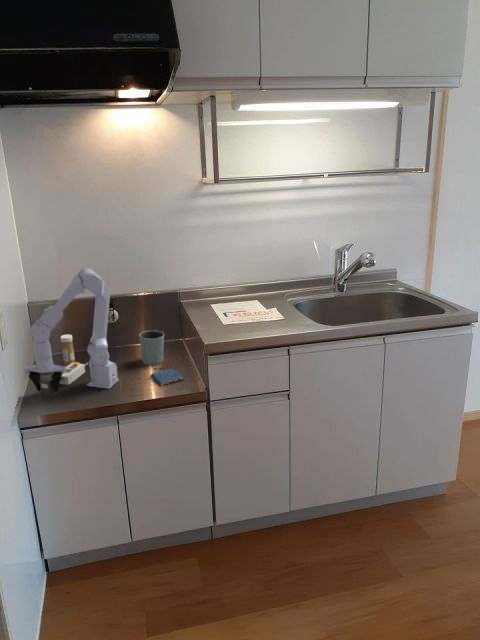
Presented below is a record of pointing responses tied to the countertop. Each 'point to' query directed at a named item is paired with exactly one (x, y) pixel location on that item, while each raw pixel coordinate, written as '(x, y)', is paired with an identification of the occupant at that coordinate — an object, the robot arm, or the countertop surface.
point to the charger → (47, 386)
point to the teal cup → (152, 346)
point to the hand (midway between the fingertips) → (48, 390)
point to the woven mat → (166, 376)
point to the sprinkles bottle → (67, 349)
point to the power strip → (72, 372)
